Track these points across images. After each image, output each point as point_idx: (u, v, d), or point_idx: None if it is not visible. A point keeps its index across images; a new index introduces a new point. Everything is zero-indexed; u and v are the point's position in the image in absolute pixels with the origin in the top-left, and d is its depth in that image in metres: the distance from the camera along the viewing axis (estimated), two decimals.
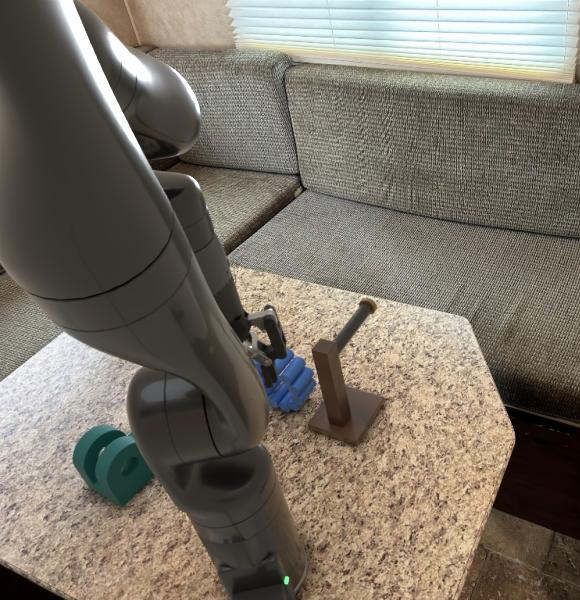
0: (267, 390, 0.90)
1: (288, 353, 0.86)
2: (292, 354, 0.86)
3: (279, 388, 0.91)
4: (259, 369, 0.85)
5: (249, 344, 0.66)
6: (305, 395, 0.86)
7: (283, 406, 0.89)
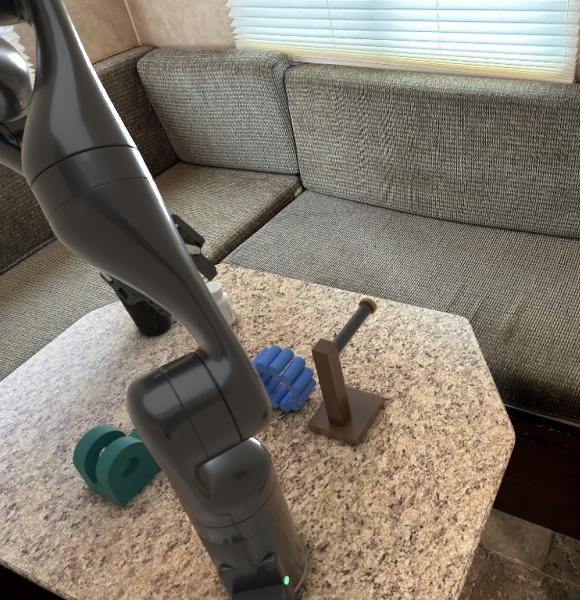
0: (267, 390, 0.90)
1: (288, 353, 0.86)
2: (292, 354, 0.86)
3: (279, 388, 0.91)
4: (259, 369, 0.85)
5: None
6: (305, 395, 0.86)
7: (283, 406, 0.89)
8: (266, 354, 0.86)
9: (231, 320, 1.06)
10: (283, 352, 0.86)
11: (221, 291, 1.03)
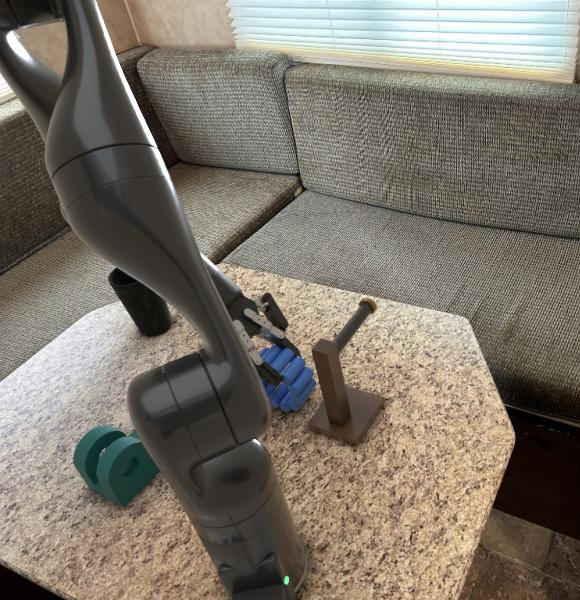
0: (267, 390, 0.90)
1: (288, 353, 0.86)
2: (292, 354, 0.86)
3: (279, 388, 0.91)
4: None
5: (263, 327, 0.86)
6: (305, 395, 0.86)
7: (283, 406, 0.89)
8: (266, 354, 0.86)
9: None
10: (283, 352, 0.86)
11: None
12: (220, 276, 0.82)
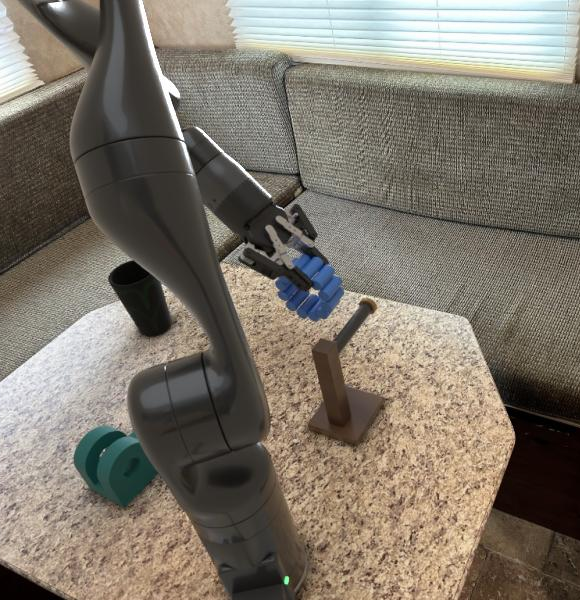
0: (296, 300, 0.92)
1: (318, 261, 0.88)
2: (321, 262, 0.89)
3: (307, 300, 0.93)
4: None
5: (293, 236, 0.89)
6: (334, 302, 0.89)
7: (312, 315, 0.91)
8: (296, 262, 0.88)
9: None
10: (313, 260, 0.88)
11: None
12: (253, 182, 0.84)
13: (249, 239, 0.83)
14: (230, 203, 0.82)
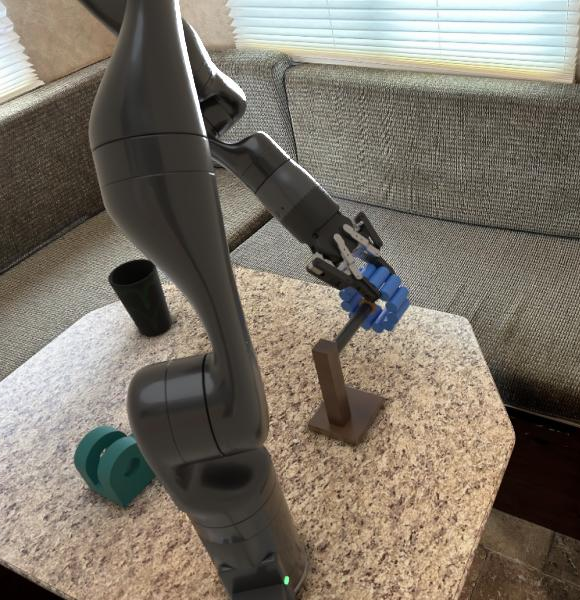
0: None
1: (384, 271, 0.85)
2: (388, 272, 0.86)
3: None
4: None
5: (359, 245, 0.86)
6: (401, 314, 0.86)
7: (376, 327, 0.88)
8: (362, 272, 0.85)
9: None
10: (379, 270, 0.85)
11: None
12: (321, 189, 0.82)
13: (317, 248, 0.81)
14: (299, 211, 0.79)
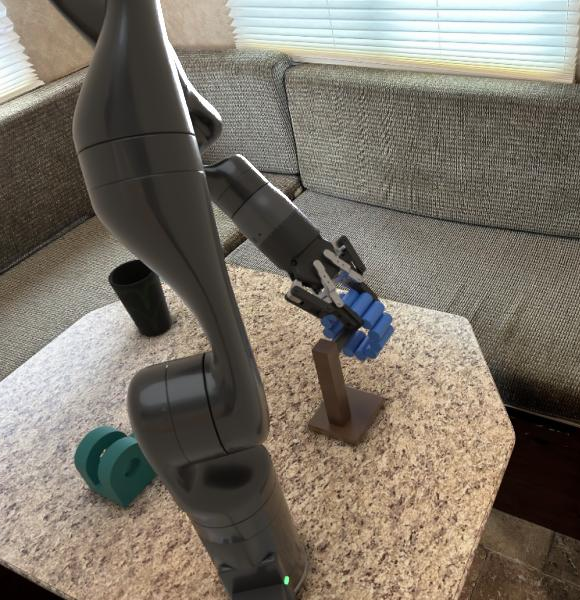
0: None
1: (367, 297, 0.82)
2: (371, 299, 0.83)
3: (353, 337, 0.87)
4: None
5: (340, 271, 0.83)
6: (384, 341, 0.83)
7: (359, 354, 0.85)
8: (344, 298, 0.82)
9: None
10: (362, 296, 0.82)
11: None
12: (300, 214, 0.78)
13: (296, 276, 0.77)
14: (277, 238, 0.76)
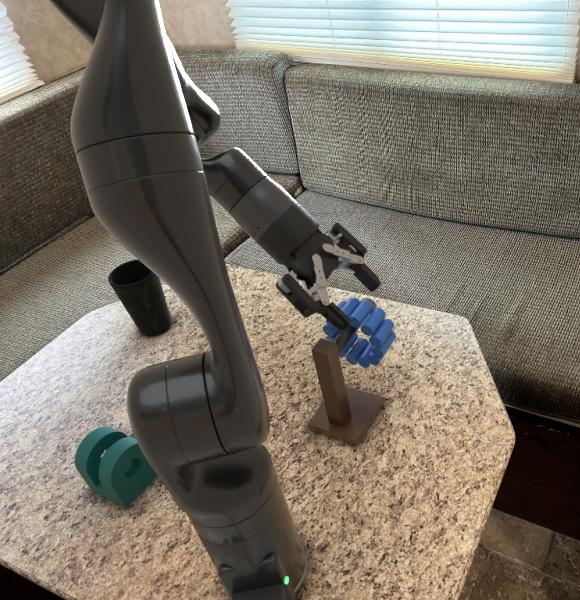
0: None
1: (368, 304, 0.83)
2: (371, 305, 0.83)
3: (356, 344, 0.88)
4: None
5: (340, 258, 0.83)
6: (386, 347, 0.83)
7: (362, 361, 0.86)
8: (345, 306, 0.83)
9: None
10: (362, 303, 0.83)
11: None
12: (299, 208, 0.78)
13: (295, 270, 0.77)
14: (275, 231, 0.76)
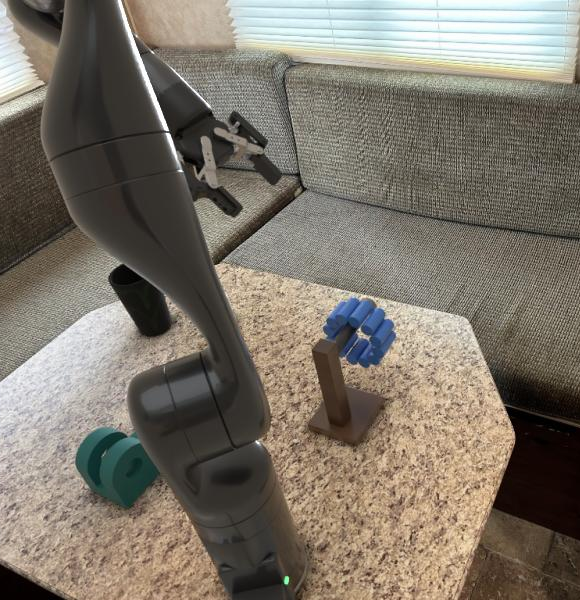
0: None
1: (367, 304, 0.83)
2: (371, 305, 0.83)
3: (356, 344, 0.88)
4: (338, 321, 0.83)
5: (237, 147, 0.79)
6: (386, 347, 0.83)
7: (362, 361, 0.86)
8: (345, 306, 0.83)
9: None
10: (362, 303, 0.83)
11: None
12: (186, 86, 0.74)
13: (181, 151, 0.73)
14: None
